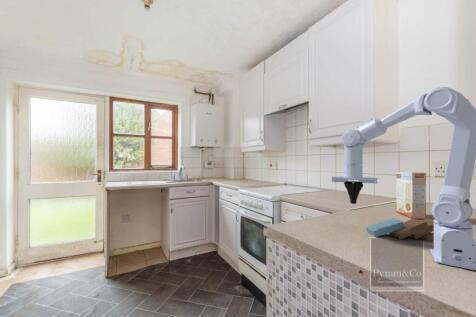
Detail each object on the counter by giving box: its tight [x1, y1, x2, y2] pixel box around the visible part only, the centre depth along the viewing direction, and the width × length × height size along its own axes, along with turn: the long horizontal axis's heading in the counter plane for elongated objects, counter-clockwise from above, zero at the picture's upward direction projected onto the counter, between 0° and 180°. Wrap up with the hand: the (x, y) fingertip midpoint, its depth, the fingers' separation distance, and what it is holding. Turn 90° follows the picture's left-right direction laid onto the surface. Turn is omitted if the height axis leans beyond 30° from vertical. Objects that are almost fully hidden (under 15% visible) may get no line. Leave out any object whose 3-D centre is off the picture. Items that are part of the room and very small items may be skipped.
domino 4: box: [418, 232, 434, 243], centre depth 71 cm, size 2×5×10 cm
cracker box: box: [395, 171, 427, 220], centre depth 104 cm, size 14×6×21 cm, turn 168°
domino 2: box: [388, 218, 429, 240], centre depth 73 cm, size 2×5×10 cm
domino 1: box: [365, 217, 405, 238], centre depth 75 cm, size 2×5×10 cm
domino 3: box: [408, 217, 434, 240], centre depth 73 cm, size 2×5×10 cm
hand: (353, 203), depth 77 cm, fingers closed
